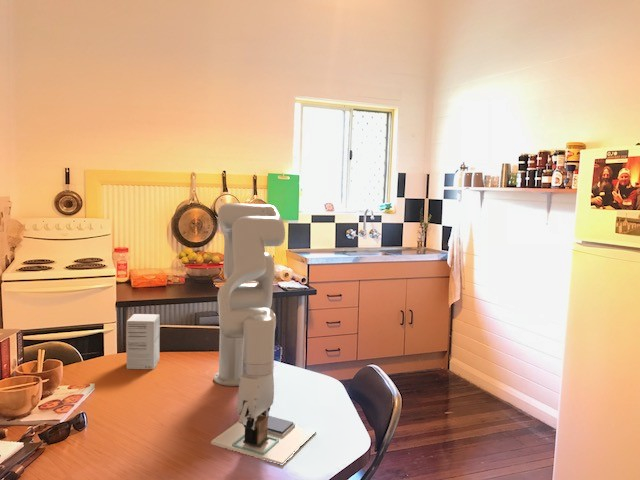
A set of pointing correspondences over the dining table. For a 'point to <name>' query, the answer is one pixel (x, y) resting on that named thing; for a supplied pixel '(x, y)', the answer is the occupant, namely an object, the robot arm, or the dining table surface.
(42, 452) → the dining table surface
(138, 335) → the supplement box
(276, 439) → the board
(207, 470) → the dining table surface
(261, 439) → the stamp
